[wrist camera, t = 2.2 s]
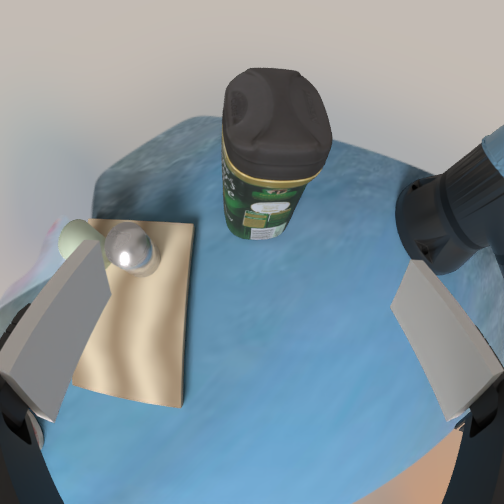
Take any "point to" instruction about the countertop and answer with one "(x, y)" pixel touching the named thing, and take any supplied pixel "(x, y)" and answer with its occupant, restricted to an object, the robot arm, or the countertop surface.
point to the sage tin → (79, 238)
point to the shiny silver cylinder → (132, 250)
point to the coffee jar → (270, 148)
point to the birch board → (142, 323)
